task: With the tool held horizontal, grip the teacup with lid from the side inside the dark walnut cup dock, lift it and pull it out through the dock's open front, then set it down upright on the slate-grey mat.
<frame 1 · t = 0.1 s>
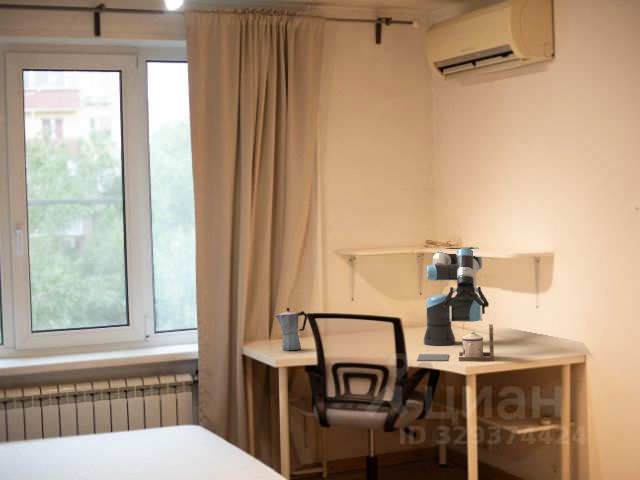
hand: (466, 320, 383), 15 cm above the table, tool tilted 35°, fingers open, 13 cm apart
moka pot: (292, 349, 409), on the table
teacup with lid: (472, 359, 372), on the table
cup dock: (472, 358, 372), on the table
slate mat: (433, 358, 375), on the table
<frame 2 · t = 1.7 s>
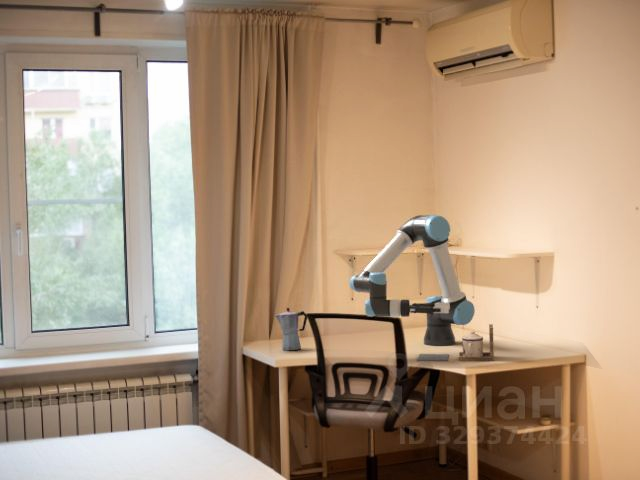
hand: (449, 308, 373), 22 cm above the table, tool horizontal, fingers open, 13 cm apart
nothing on the table moved.
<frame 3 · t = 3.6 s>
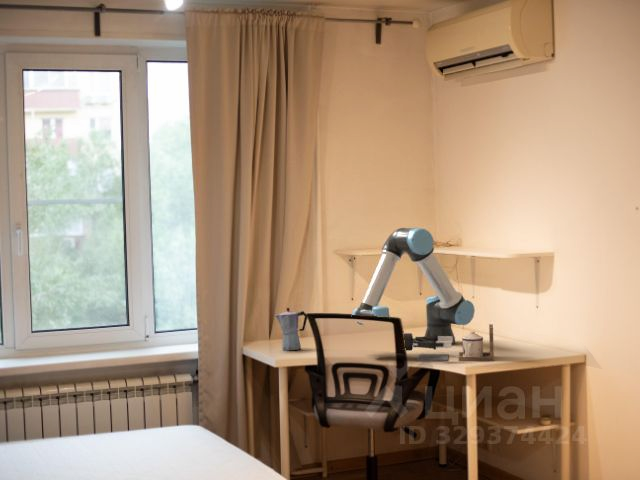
hand: (452, 341, 373), 7 cm above the table, tool horizontal, fingers open, 13 cm apart
nothing on the table moved.
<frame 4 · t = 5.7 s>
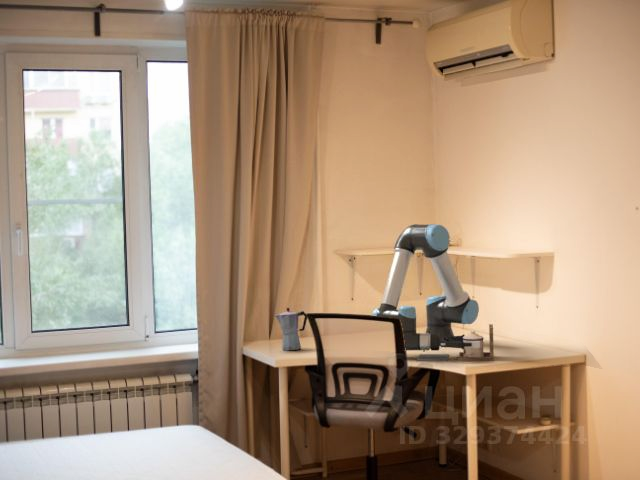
hand: (479, 341, 371), 7 cm above the table, tool horizontal, fingers open, 13 cm apart
teacup with lid: (472, 358, 372), on the table, touching gripper
everything else where it was.
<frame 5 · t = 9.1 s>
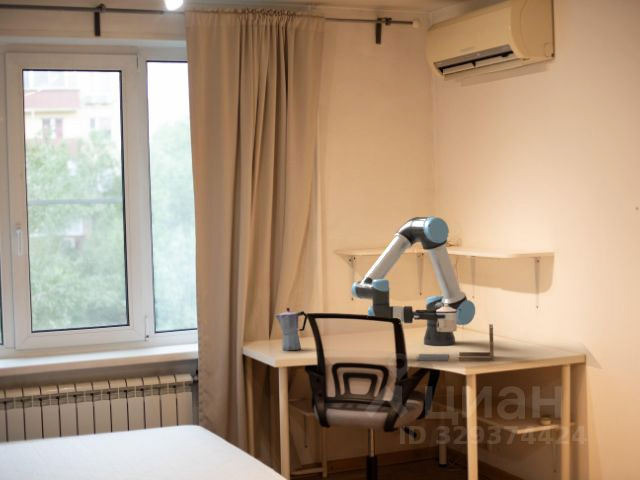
hand: (453, 314, 373), 19 cm above the table, tool horizontal, fingers closed on teacup with lid, 12 cm apart
teacup with lid: (446, 331, 373), point 12 cm above the table, touching gripper
everything else where it was.
when the fingers open (9 cm above the table, at t = 12.1 s): teacup with lid drops 1 cm, resting on slate mat.
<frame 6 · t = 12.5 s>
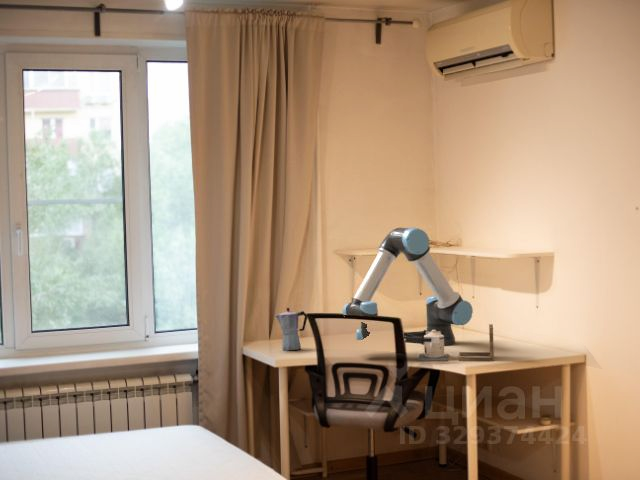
hand: (440, 337, 374), 9 cm above the table, tool horizontal, fingers open, 13 cm apart
teacup with lid: (433, 357, 375), resting on slate mat
everything else where it was.
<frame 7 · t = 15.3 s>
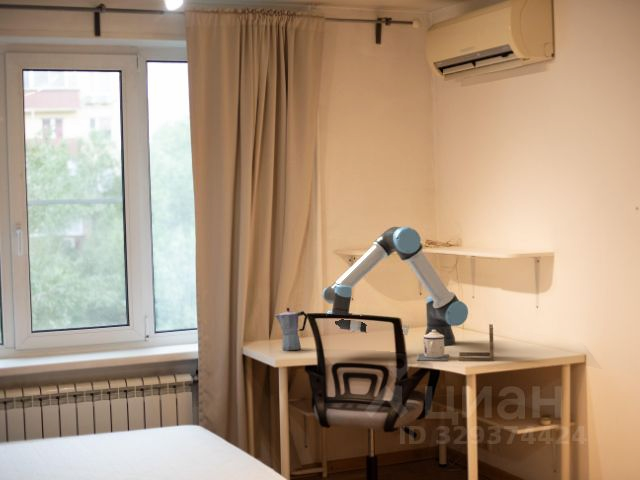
hand: (408, 330, 379), 12 cm above the table, tool horizontal, fingers open, 13 cm apart
nothing on the table moved.
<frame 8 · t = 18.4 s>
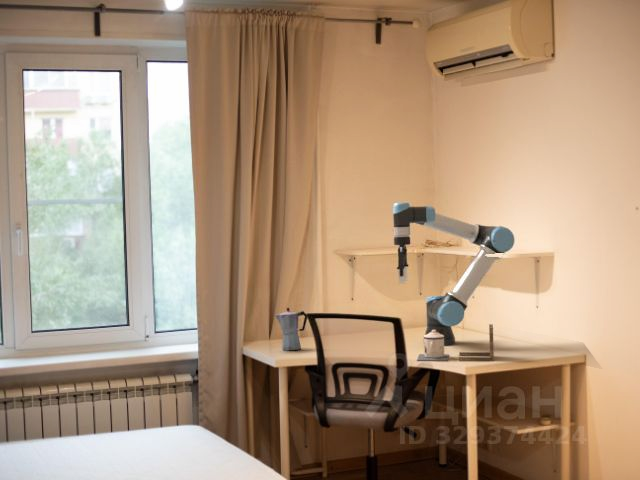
hand: (403, 282, 396), 32 cm above the table, tool pointing down, fingers open, 13 cm apart
nothing on the table moved.
at the end: teacup with lid inside the target area (0.4 cm from its centre), resting on slate mat; teacup with lid tilted 0°; the gripper is holding nothing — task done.
